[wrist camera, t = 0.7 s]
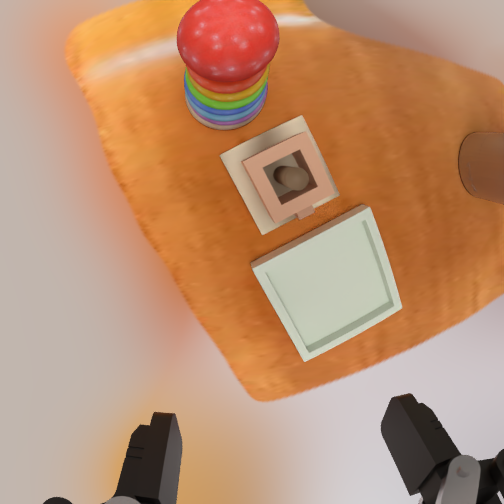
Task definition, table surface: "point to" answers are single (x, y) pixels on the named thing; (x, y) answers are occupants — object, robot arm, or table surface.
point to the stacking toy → (227, 60)
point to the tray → (330, 282)
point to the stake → (272, 171)
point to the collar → (293, 199)
